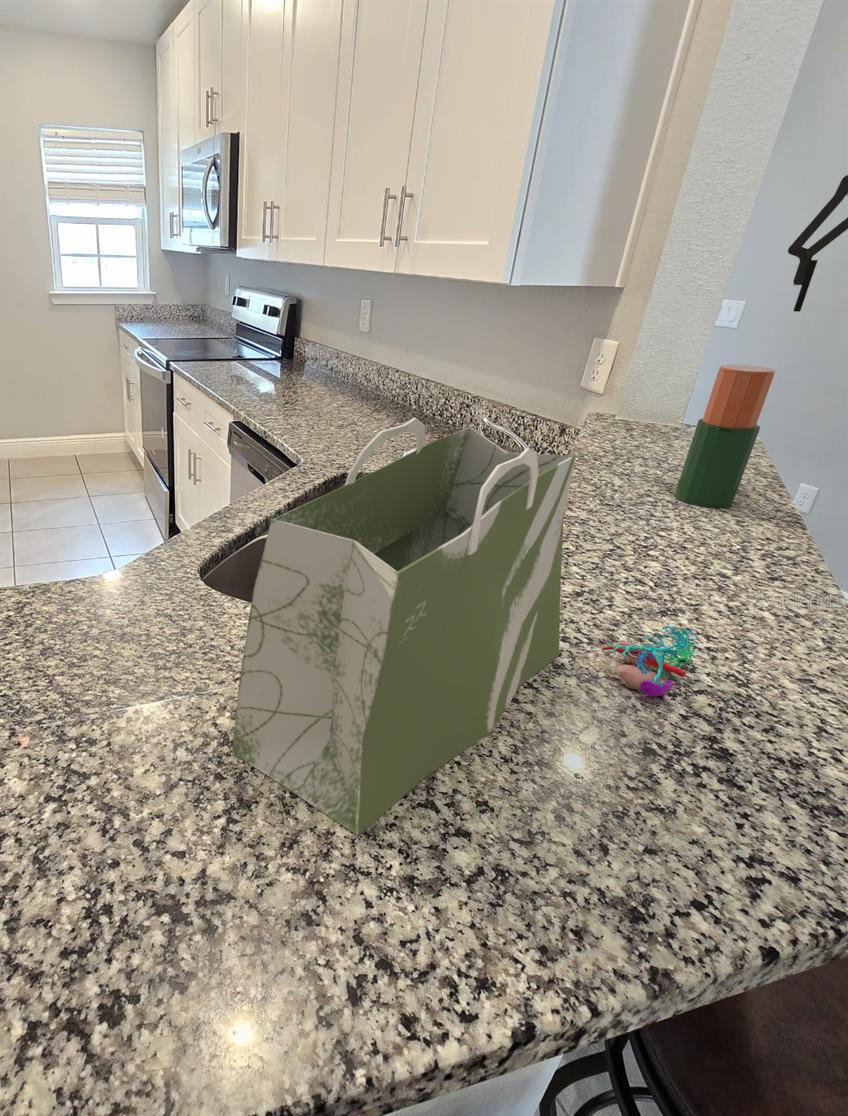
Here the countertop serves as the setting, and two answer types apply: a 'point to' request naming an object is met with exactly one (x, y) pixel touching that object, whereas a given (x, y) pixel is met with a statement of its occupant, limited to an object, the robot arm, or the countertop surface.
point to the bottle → (715, 465)
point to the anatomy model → (653, 661)
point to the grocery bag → (400, 619)
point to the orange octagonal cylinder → (738, 396)
